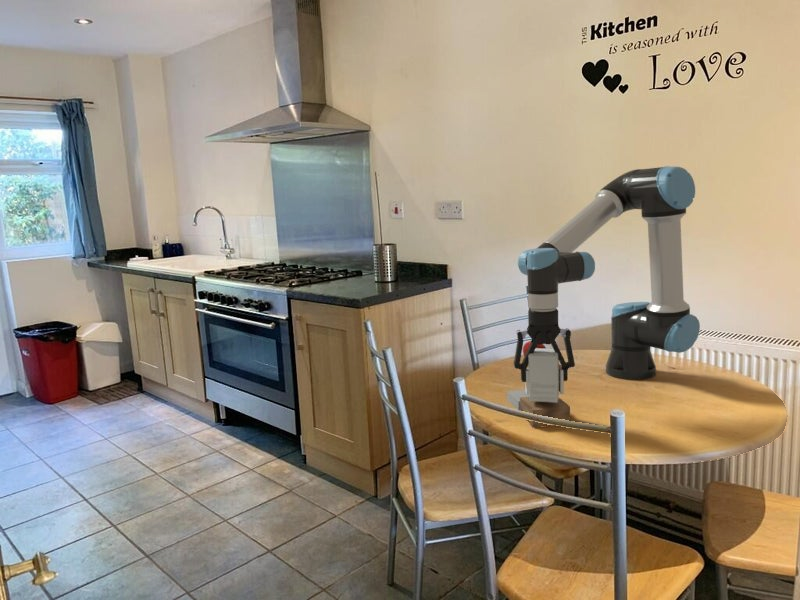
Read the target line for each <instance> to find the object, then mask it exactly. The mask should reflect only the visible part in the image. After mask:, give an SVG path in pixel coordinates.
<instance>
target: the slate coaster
mask: <svg viewBox="0 0 800 600" xmlns="http://www.w3.org/2000/svg"><path fill="white" fill-rule="evenodd" d="M520 397H529V395H526V392H525V388H524V389H516V390H508V391H506V401H507V402H509V403H510V404H511V405H512V406H513V407H514V408H515V409H517V410H518V411H520Z"/></svg>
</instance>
